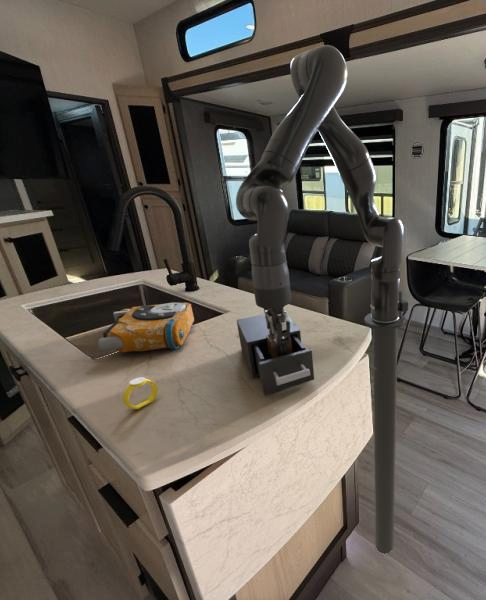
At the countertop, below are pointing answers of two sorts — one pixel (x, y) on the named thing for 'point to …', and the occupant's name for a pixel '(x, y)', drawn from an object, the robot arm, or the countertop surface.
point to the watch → (137, 383)
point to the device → (148, 328)
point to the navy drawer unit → (257, 336)
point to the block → (275, 346)
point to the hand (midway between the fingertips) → (280, 352)
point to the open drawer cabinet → (283, 366)
